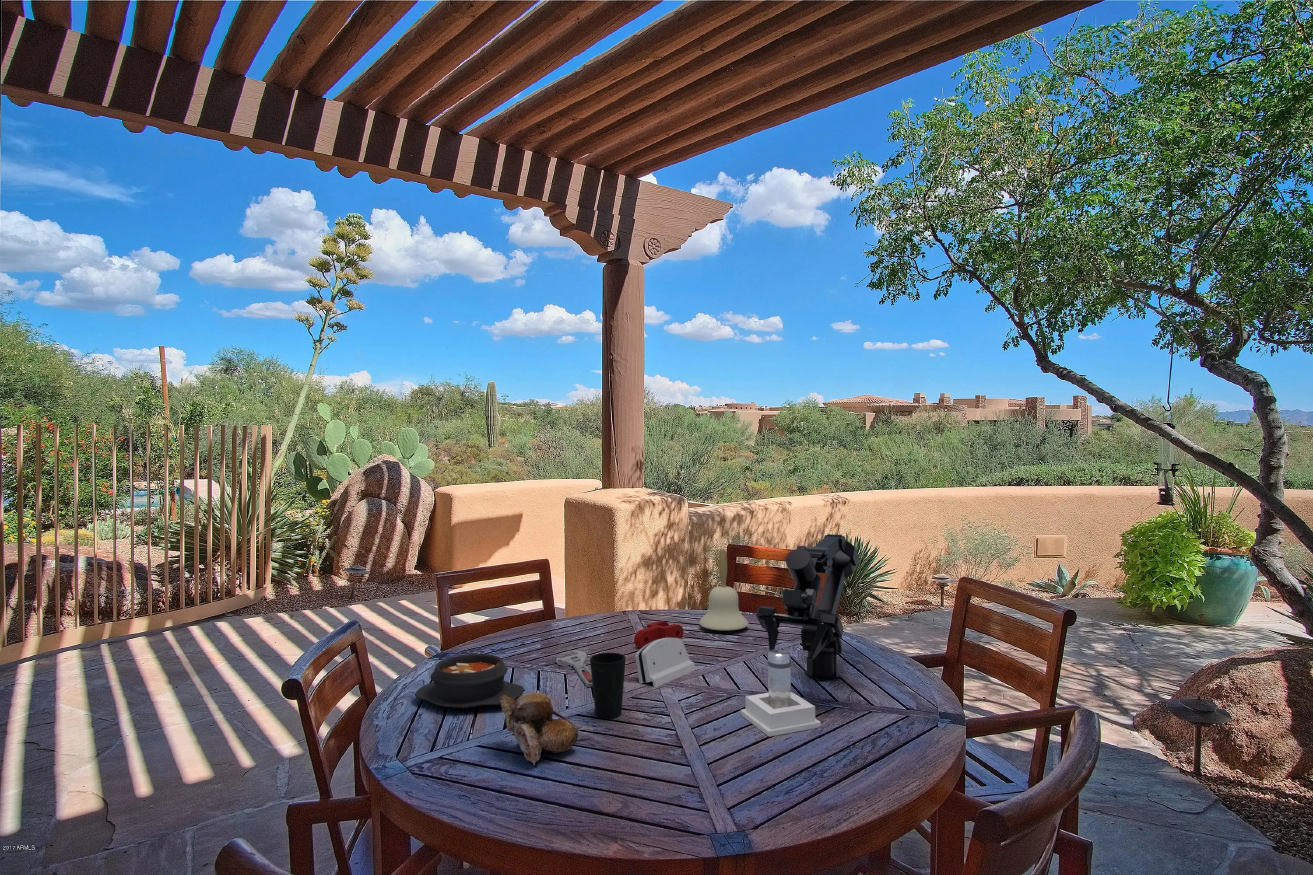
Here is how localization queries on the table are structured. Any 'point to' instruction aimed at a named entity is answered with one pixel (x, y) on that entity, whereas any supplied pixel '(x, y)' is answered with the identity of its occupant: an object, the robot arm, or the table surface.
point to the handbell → (723, 604)
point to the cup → (608, 684)
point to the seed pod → (538, 725)
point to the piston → (779, 678)
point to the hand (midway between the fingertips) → (790, 655)
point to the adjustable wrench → (578, 665)
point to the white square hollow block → (780, 715)
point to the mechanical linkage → (657, 633)
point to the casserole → (469, 682)
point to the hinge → (663, 661)
